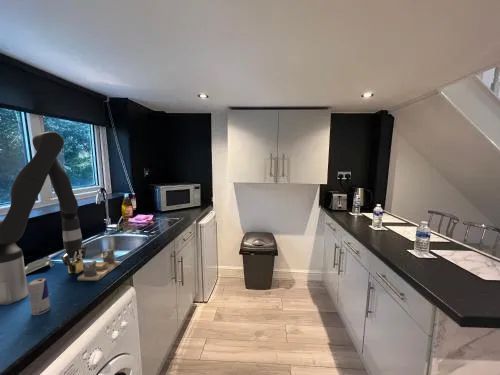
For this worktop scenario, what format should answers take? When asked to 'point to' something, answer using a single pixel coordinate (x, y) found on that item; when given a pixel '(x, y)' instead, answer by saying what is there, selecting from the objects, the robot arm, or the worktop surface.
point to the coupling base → (100, 273)
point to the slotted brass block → (77, 266)
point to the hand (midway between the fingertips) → (76, 269)
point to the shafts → (102, 256)
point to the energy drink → (38, 296)
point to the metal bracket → (38, 265)
